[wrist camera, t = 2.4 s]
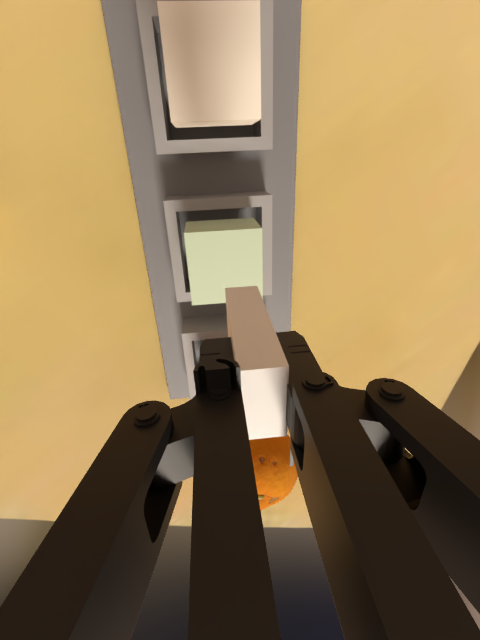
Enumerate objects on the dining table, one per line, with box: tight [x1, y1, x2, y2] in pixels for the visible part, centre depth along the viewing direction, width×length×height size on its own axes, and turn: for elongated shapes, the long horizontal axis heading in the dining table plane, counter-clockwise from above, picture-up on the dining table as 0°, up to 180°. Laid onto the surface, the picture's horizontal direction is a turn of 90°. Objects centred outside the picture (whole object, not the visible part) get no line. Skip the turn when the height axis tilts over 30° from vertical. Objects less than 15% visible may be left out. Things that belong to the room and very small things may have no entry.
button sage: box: [184, 218, 263, 305], centre depth 24 cm, size 5×5×4 cm
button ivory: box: [157, 0, 261, 128], centre depth 19 cm, size 5×5×4 cm
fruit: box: [249, 435, 298, 510], centre depth 38 cm, size 10×10×8 cm
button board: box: [101, 0, 302, 400], centre depth 28 cm, size 13×33×4 cm, turn 2°
